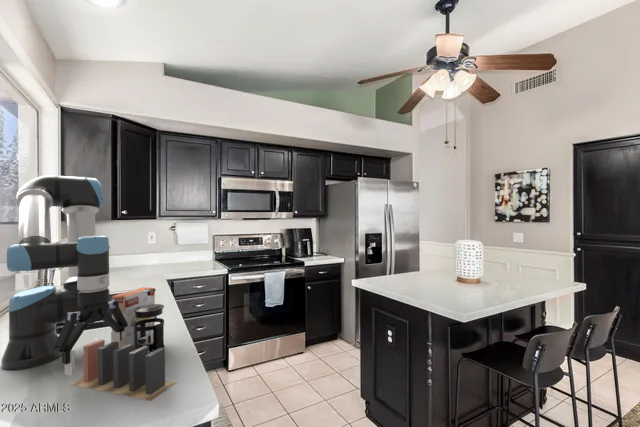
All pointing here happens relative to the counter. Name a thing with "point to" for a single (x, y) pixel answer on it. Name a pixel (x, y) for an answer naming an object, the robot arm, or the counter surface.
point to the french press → (158, 330)
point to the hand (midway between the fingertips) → (94, 363)
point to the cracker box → (127, 306)
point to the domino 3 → (137, 368)
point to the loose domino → (91, 360)
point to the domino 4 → (155, 370)
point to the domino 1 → (106, 362)
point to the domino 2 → (121, 365)
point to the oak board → (124, 389)
